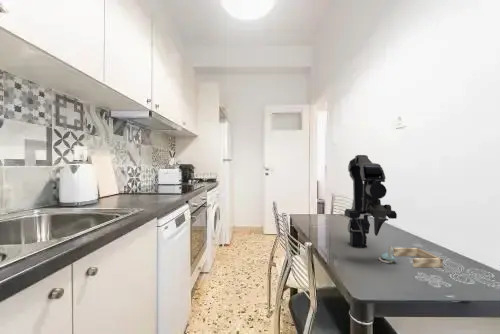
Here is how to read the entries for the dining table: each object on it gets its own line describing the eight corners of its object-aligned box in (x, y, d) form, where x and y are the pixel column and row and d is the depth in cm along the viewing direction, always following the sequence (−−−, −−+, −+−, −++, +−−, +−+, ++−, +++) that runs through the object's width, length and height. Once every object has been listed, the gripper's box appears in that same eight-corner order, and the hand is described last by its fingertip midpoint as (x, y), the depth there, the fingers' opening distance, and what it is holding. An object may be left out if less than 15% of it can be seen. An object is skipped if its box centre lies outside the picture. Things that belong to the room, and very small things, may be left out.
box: (414, 267, 104) (414, 259, 104) (393, 255, 118) (393, 248, 118) (442, 267, 105) (442, 259, 105) (417, 255, 119) (418, 248, 119)
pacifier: (382, 264, 108) (398, 264, 107) (381, 247, 108) (398, 248, 107) (376, 258, 115) (391, 258, 114) (376, 242, 115) (391, 243, 114)
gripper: (356, 198, 102) (355, 241, 102) (406, 198, 103) (405, 241, 103) (344, 194, 113) (343, 233, 113) (389, 195, 114) (388, 233, 114)
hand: (369, 235), depth 110 cm, fingers open, 5 cm apart
